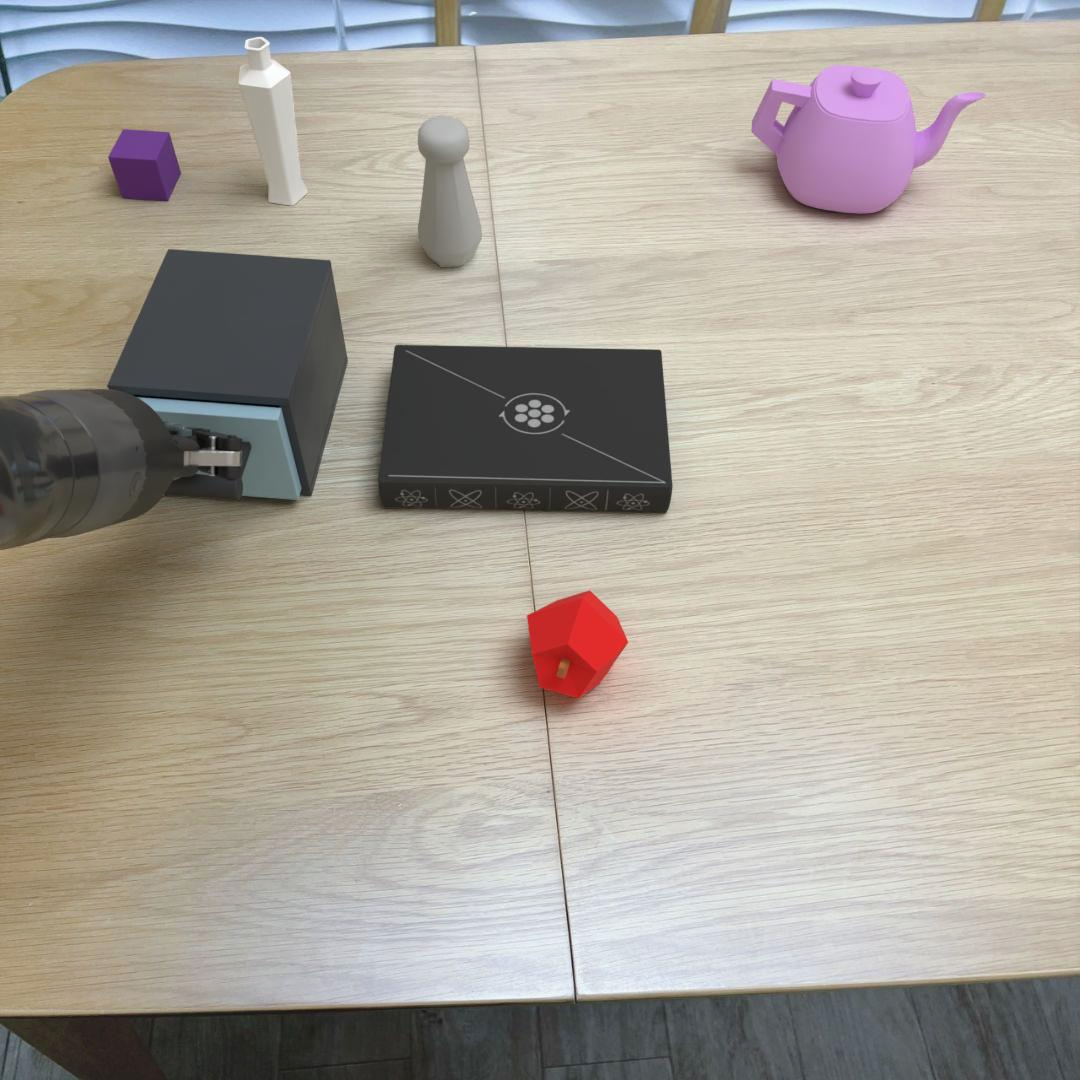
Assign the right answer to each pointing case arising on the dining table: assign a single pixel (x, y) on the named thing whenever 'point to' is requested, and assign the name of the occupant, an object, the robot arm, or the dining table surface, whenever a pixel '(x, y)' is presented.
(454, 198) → the salt shaker
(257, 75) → the white tall faceted bottle
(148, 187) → the block
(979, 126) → the dining table surface
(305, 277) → the dark grey cabinet
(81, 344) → the dining table surface
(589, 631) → the apple
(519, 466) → the book
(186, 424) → the drawer
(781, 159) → the teapot
